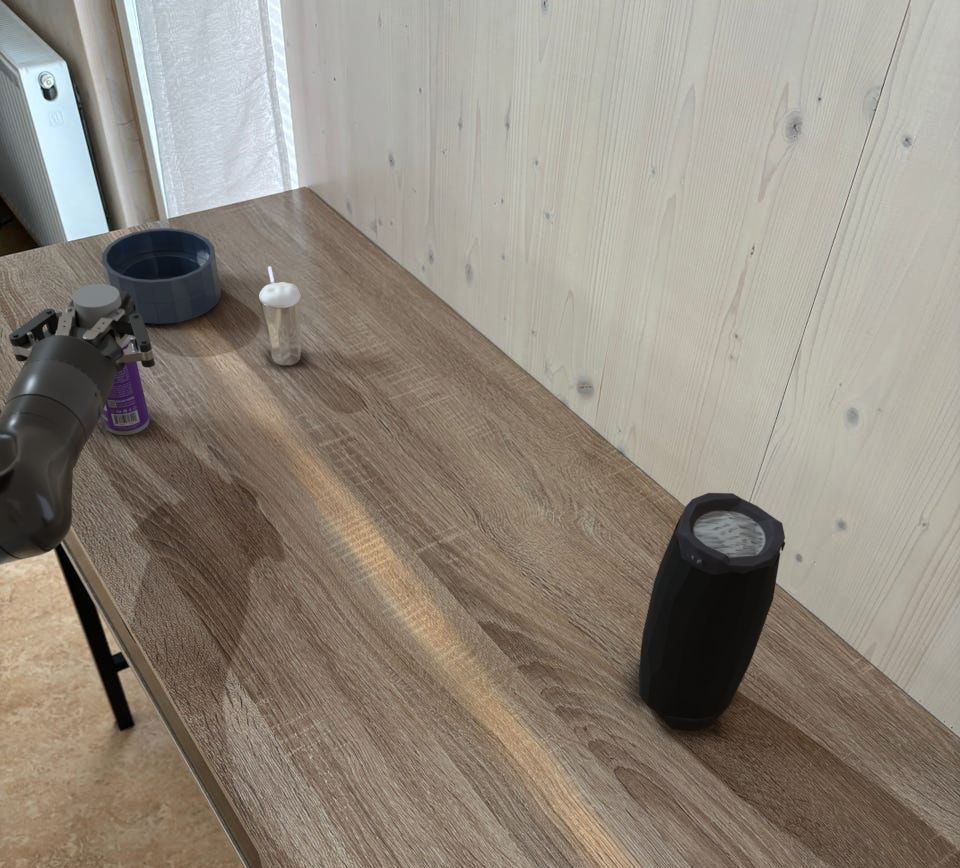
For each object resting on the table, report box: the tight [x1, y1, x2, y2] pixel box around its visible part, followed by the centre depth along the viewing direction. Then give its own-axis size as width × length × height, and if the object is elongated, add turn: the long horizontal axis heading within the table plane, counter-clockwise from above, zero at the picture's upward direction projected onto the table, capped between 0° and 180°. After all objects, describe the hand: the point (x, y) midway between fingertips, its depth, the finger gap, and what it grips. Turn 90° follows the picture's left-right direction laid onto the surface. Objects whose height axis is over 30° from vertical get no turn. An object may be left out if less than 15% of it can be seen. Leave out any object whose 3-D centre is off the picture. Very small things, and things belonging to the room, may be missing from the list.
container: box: [71, 283, 150, 436], centre depth 108 cm, size 5×5×15 cm
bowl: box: [101, 227, 222, 325], centre depth 128 cm, size 13×13×6 cm
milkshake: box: [258, 265, 302, 367], centre depth 119 cm, size 4×5×10 cm
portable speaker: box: [638, 492, 786, 732], centre depth 83 cm, size 9×9×20 cm
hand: (107, 298), depth 106 cm, fingers closed on container, 3 cm apart
